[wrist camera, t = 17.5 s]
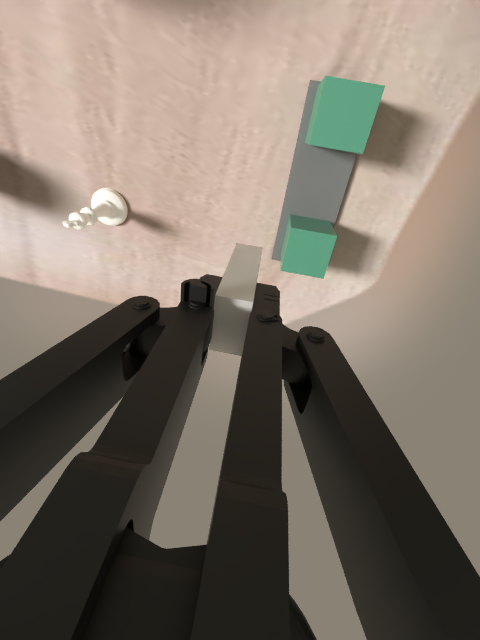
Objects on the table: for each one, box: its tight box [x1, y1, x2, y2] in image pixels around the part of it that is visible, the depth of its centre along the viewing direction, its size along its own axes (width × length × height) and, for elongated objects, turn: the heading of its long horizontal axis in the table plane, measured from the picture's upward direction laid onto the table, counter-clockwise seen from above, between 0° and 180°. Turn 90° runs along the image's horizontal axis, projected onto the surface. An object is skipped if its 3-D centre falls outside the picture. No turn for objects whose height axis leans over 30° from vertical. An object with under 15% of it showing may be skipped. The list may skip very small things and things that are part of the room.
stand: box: [272, 76, 385, 261], centre depth 34 cm, size 7×20×7 cm, turn 172°
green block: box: [281, 214, 337, 278], centre depth 37 cm, size 5×5×7 cm
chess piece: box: [63, 188, 127, 230], centre depth 37 cm, size 5×5×10 cm
